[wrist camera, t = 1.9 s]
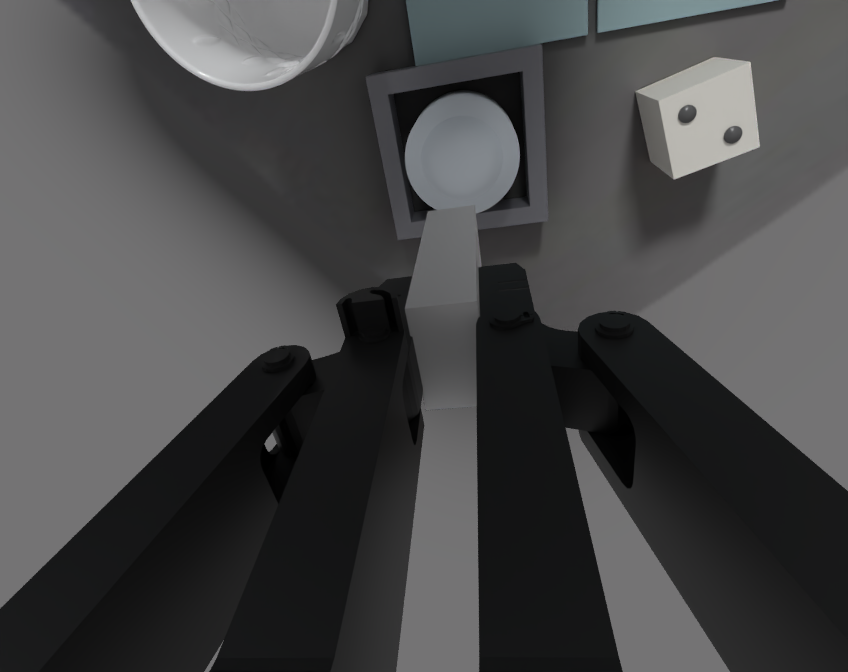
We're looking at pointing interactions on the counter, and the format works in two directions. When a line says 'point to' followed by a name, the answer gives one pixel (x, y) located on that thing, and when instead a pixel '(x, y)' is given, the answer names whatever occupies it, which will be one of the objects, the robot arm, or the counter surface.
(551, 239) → the counter surface
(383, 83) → the frame
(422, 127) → the dome
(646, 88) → the die
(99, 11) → the counter surface
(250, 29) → the white cup
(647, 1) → the tile
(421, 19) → the tile
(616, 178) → the counter surface
